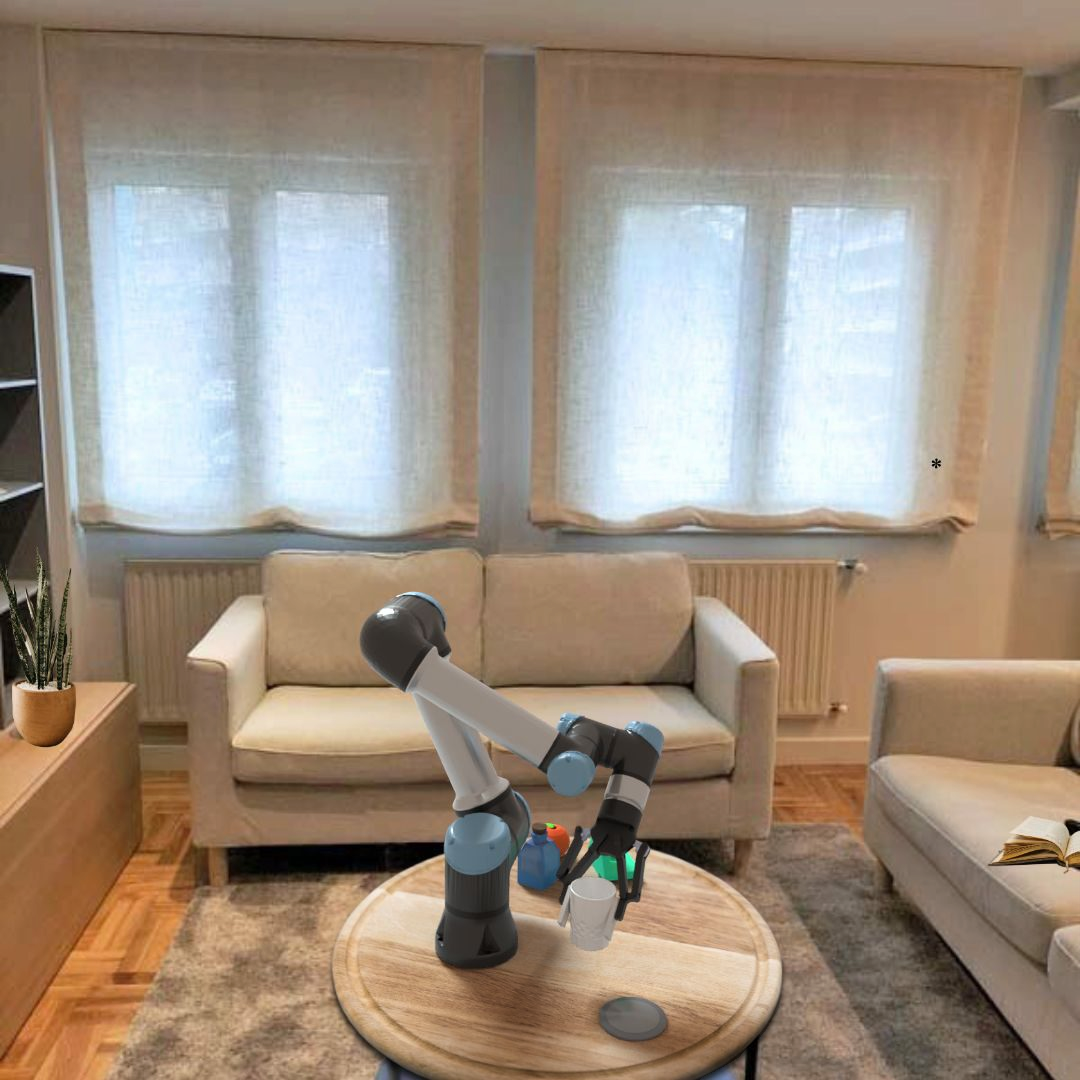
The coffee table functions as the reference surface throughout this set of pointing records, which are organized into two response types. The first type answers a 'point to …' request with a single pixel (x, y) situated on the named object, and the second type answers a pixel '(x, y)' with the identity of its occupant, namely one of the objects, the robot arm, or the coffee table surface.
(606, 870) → the camera mount
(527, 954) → the coffee table surface
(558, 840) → the clementine
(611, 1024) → the coaster
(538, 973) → the coffee table surface
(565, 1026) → the coffee table surface
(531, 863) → the perfume bottle
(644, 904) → the coffee table surface
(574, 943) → the white cup
